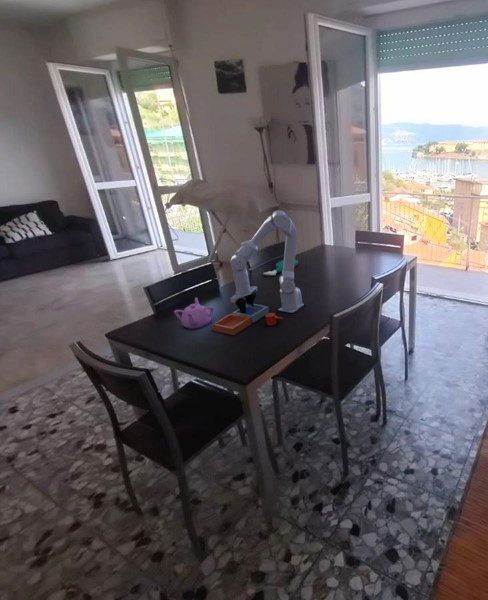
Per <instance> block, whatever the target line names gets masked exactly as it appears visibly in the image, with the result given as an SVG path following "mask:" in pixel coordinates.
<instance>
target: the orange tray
mask: <svg viewBox="0 0 488 600" xmlns="http://www.w3.org/2000/svg"><path fill="white" fill-rule="evenodd" d="M252 324H253V322H252V321H251V317H246V316H241V315H236V314H233V313H229V314H228V315H226V316H224V317H222V318H221V319H219V320H217V321H216V322H214V323H212V324H211V326H212V329H213V332H217V333H220V334H221V333H222V334H226V335H230V336H235V335H237V334H238V333H240V332H241V331H243V330H245V329H246V328H247V327H249V326H251V325H252Z"/></svg>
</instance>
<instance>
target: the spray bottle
mask: <svg viewBox="0 0 488 600" xmlns="http://www.w3.org/2000/svg"><path fill="white" fill-rule="evenodd" d="M283 263H284V259H281V260H280V261H278V262H277V263H276V264H275V269H273V270H271V271H270V270H268V271H266V272H263V273H262V274H263V275H265V276H276V274H280V273H282V270H283ZM298 265H299V261H298V259H295V265H294V268H295V267H296V266H298Z"/></svg>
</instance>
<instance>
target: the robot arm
mask: <svg viewBox="0 0 488 600" xmlns="http://www.w3.org/2000/svg"><path fill="white" fill-rule="evenodd" d="M277 229H278V230H280V231H281V232H283V234H284V235H285V241H284V254H283V260H284V263H283V270H282V272H281V275H280V276H279V277H278V282H279V285H280V287H279V288H280V289H279V297H280V302H281V307H279V308H278V309H277V310H278V311H279V312H285V313H291V314H294V313H295V312H296V311H298V310H299V309H300V308H302V307H303V306H305V304H304V303H303V298H302V291H301V289H300V288H299V287H297V286H296V284H295V267H294V265H295V260H296V256H297V255H296V253H297V245H298V235H299V233H298V230H297V227H296V226H295V224H294V223H293V221H292V219H291V217H290V216H289V215H288V214H287V213H286V212H285V211H284V210H282V209H277V210H274V211H273V212H272V213H271V215H269V216H268V217H267V218H266V219H265V220H264V222H263V223H262V225H261V226H260V227H259V229H258V230H257V231H256V232H255V234H254V235H253V236H252V237H251V239H250V240H249V239H248V240H245V241H242V243H241V246H240V248H239V249H238V250H237V251H235V252H234V255H232V257H231V259H230V266H231V268H232V272H233V273H232V275H233V280H234V286H235V293H234V294H233V295H232V296H231V297H230V298H229V300H230V303H232V304H233V303H235V305H236V306H237V307H238V309H240V311H241V313H243V314H246V304H251V307H253V306H254V304H255V300H256V298H257V293H256V292H257V291H258V286H256V285H252V286H251V285H250V279H249V272H248V270H247V263H248V262H249V261H250V260H251V259H252V258H253V256H254V255H255V254H256V253H257V252H258V251H259V247H258V245H259V244H260V243H261V242H262V241H263V239H264V238H265V237H266V236H267V235H268V234H269V233H270V232H274V231H277Z"/></svg>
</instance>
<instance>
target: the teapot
mask: <svg viewBox="0 0 488 600" xmlns="http://www.w3.org/2000/svg"><path fill="white" fill-rule="evenodd" d="M214 310H215V308H214V306H213V305H208V306H203V304H200V302H199V298H198V297H194V303H191V304H189V305H188V306H186V307H185V308H184V309H175V310H174V311H173V313H174V316H176V317H177V318H178V319H179V321H180V323H181V325H182V326H183V327H184V328H186V329H190V330H193V329H200V328H203V327H205V326H207V325H209V323H211V321H212V315H213V313H214ZM180 313H182V314H181V315H180Z"/></svg>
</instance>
